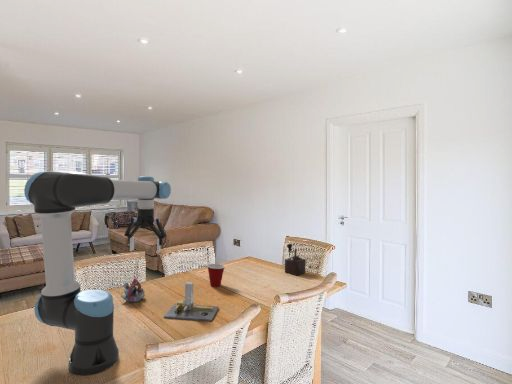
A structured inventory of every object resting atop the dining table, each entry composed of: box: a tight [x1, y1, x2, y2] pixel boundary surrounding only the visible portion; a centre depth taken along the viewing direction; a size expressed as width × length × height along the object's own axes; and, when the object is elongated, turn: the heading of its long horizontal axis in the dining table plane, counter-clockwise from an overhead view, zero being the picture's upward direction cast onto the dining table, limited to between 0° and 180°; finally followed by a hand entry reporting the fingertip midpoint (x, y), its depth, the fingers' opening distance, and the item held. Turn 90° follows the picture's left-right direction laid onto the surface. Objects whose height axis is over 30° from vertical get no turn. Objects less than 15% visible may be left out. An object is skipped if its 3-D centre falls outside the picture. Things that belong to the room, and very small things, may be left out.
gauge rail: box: [175, 299, 213, 312], centre depth 147 cm, size 8×18×3 cm, turn 84°
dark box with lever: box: [284, 243, 307, 277], centre depth 213 cm, size 16×11×18 cm
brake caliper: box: [120, 278, 146, 303], centre depth 160 cm, size 11×11×12 cm
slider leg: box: [184, 281, 195, 312], centre depth 147 cm, size 9×3×12 cm, turn 174°
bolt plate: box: [163, 303, 220, 322], centre depth 146 cm, size 14×22×1 cm, turn 84°
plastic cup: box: [206, 263, 226, 288], centre depth 184 cm, size 11×11×12 cm
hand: (145, 251), depth 153 cm, fingers open, 13 cm apart
